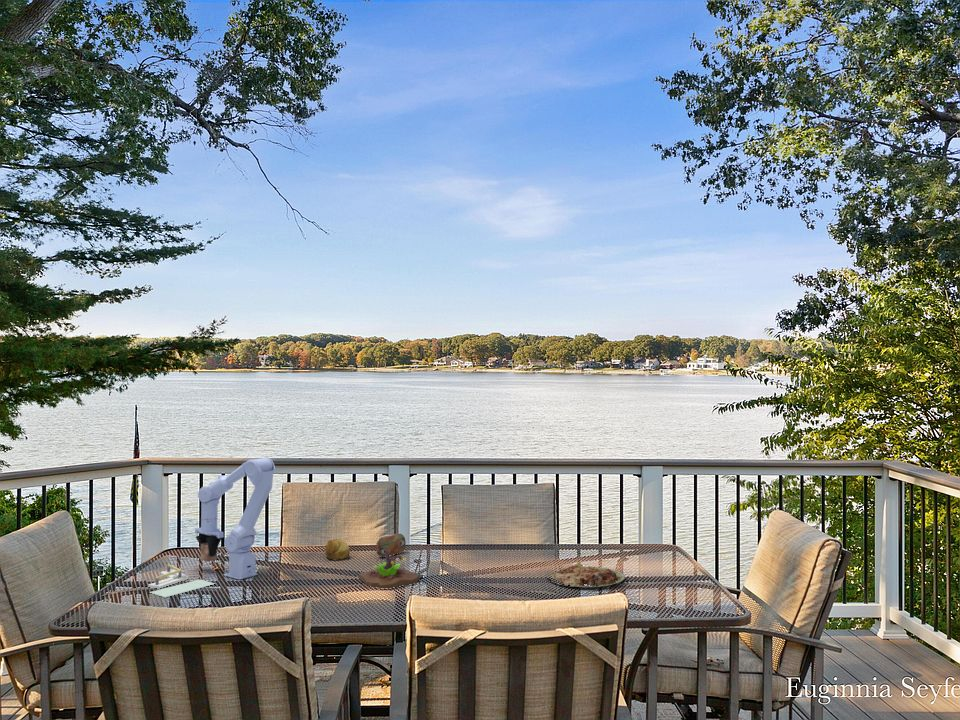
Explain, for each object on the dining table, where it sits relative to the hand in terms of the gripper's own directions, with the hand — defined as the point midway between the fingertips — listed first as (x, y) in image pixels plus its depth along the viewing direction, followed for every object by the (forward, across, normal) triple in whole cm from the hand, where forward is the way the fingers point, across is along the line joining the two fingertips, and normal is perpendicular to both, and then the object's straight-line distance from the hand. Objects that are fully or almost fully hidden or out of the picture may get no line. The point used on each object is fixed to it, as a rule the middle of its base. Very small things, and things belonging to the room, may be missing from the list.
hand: (208, 555), depth 266 cm
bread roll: (+6, -23, -43) cm, 49 cm away
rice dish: (+7, -120, -72) cm, 140 cm away
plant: (+7, -63, -29) cm, 69 cm away
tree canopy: (+6, -39, -58) cm, 70 cm away
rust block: (+2, 0, 0) cm, 2 cm away
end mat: (+6, -13, +19) cm, 24 cm away
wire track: (+6, +2, +17) cm, 18 cm away
